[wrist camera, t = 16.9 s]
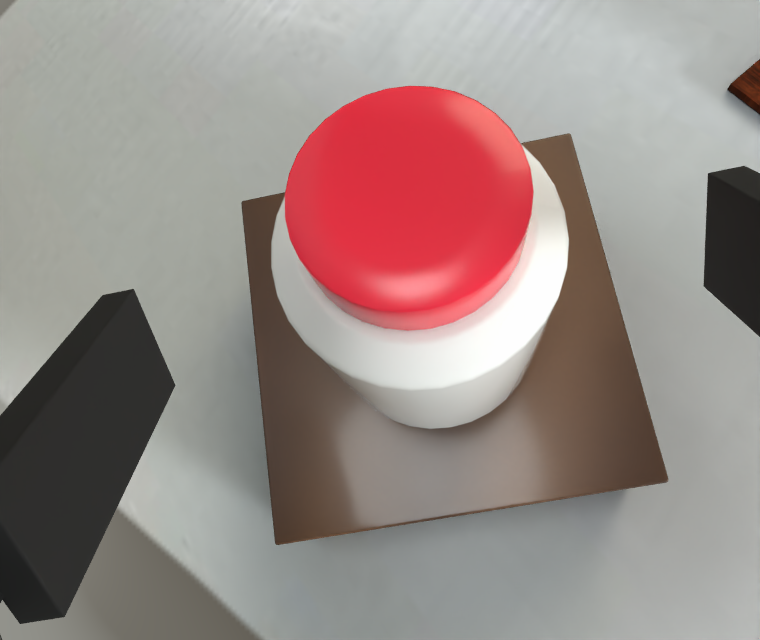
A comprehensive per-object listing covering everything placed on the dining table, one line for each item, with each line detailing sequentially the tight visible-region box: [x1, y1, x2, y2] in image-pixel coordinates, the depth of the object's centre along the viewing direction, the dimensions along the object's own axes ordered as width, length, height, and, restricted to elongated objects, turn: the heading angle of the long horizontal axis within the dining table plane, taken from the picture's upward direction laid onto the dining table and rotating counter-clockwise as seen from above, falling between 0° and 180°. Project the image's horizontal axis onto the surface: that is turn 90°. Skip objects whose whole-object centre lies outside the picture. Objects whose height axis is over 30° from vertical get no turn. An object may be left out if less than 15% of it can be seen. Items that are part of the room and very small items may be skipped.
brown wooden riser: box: [242, 134, 668, 545], centre depth 27 cm, size 14×14×6 cm
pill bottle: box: [271, 86, 569, 429], centre depth 19 cm, size 8×8×11 cm
